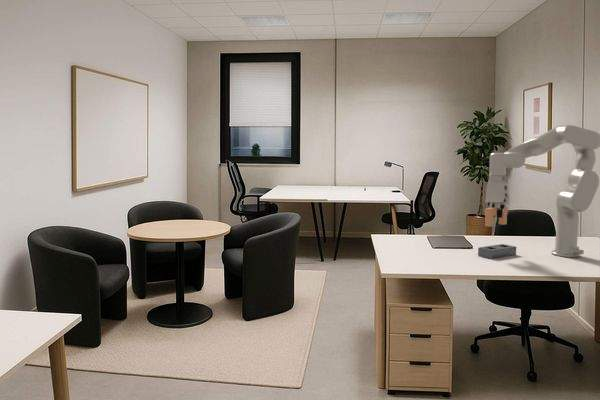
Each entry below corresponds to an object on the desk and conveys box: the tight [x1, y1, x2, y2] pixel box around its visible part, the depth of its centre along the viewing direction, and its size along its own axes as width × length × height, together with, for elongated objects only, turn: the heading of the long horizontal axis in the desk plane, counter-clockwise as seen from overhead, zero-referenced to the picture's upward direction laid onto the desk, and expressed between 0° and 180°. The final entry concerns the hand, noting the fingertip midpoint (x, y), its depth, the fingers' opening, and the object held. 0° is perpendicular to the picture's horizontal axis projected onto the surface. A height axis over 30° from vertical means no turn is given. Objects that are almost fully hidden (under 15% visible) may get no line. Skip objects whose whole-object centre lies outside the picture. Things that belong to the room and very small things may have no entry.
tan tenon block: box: [484, 206, 509, 228], centre depth 270 cm, size 3×13×8 cm, turn 123°
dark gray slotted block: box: [477, 243, 517, 260], centre depth 271 cm, size 8×18×4 cm, turn 124°
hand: (496, 216), depth 270 cm, fingers closed on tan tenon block, 3 cm apart
